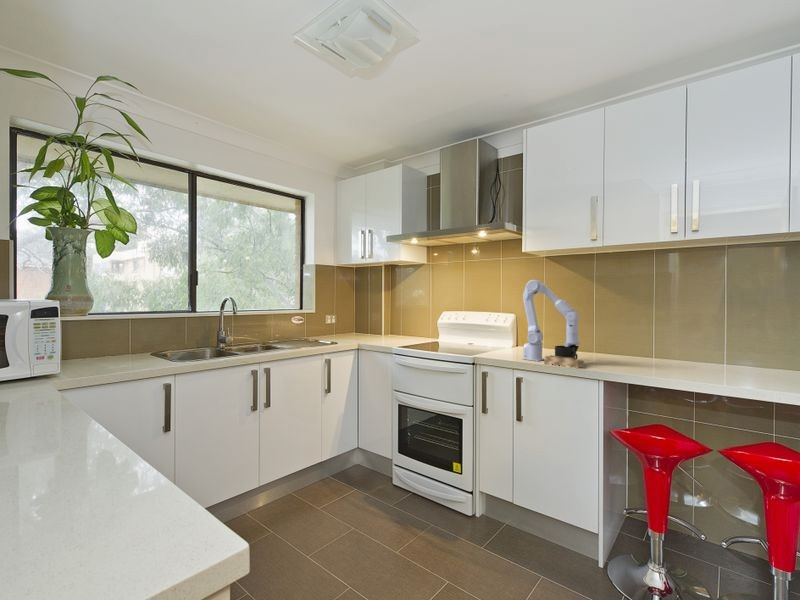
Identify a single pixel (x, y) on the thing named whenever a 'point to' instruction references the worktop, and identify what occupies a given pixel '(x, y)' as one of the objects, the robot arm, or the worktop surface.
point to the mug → (565, 351)
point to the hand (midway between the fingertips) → (572, 359)
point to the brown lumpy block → (563, 361)
